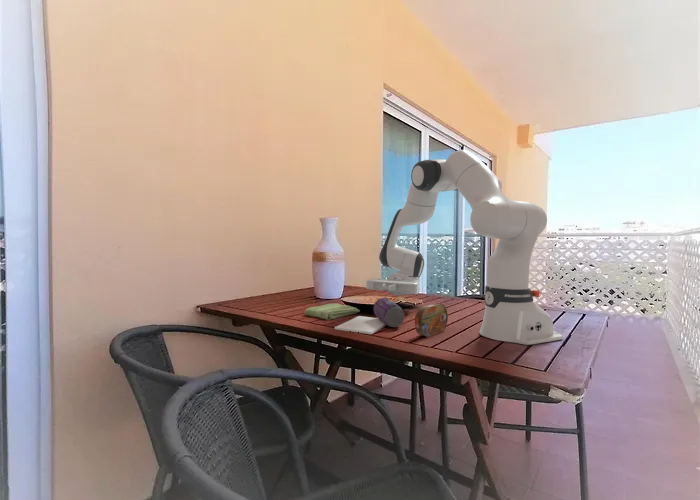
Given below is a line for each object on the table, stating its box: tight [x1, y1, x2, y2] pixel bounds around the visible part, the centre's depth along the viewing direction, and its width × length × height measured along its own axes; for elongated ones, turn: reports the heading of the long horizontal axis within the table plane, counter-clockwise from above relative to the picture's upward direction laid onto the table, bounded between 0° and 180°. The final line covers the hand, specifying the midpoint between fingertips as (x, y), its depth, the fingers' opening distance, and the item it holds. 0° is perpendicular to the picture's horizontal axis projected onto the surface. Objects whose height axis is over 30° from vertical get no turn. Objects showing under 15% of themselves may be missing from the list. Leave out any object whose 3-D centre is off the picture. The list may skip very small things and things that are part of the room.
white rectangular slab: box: [334, 315, 387, 335], centre depth 118 cm, size 18×12×1 cm, turn 155°
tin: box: [414, 303, 449, 338], centre depth 110 cm, size 15×3×8 cm, turn 137°
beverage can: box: [373, 297, 405, 328], centre depth 121 cm, size 7×7×12 cm
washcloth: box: [304, 302, 361, 321], centre depth 135 cm, size 13×18×3 cm
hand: (385, 288), depth 136 cm, fingers closed
